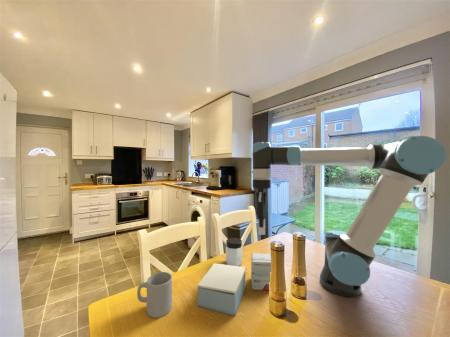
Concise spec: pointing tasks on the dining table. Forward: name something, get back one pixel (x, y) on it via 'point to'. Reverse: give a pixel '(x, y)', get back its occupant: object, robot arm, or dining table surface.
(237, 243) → the jar
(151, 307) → the mug
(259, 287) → the ink box
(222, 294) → the blue lidded box
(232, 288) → the lid
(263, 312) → the dining table surface
